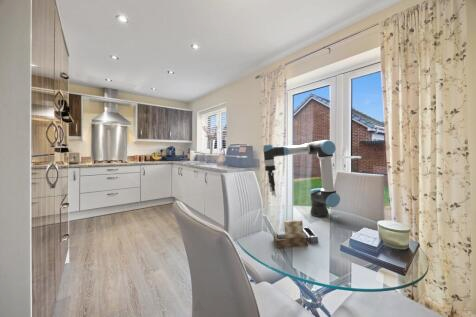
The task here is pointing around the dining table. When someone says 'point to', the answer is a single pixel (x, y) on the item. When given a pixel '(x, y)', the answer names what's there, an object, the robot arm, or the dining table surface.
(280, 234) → the offcut upper
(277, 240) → the rack
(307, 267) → the dining table surface
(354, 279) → the dining table surface
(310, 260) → the dining table surface
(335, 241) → the dining table surface
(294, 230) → the beige flat slab
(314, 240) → the stand
